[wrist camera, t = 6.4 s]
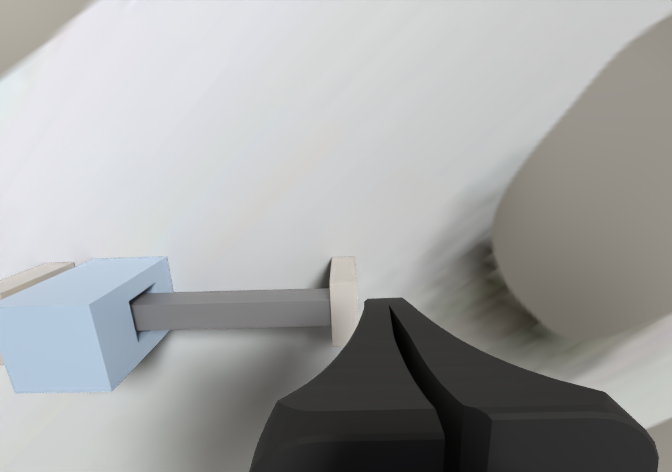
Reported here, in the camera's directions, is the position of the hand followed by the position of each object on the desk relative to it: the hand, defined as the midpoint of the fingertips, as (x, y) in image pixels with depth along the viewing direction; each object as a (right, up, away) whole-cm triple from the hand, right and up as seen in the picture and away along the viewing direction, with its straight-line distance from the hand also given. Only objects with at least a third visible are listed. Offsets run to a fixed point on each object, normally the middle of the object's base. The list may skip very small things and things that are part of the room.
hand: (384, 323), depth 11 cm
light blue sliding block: (-15, -1, +11) cm, 19 cm away
